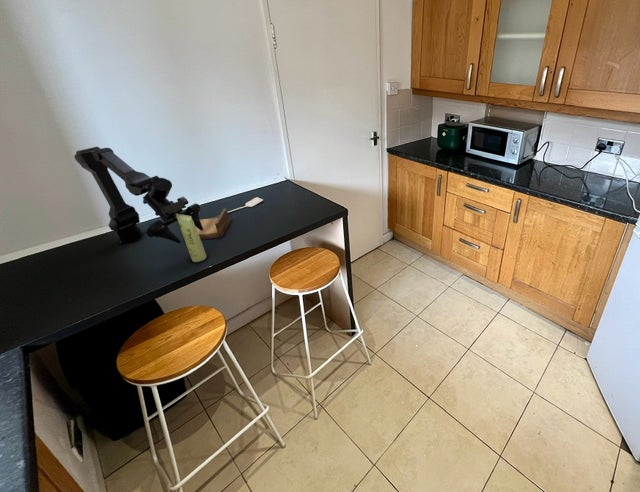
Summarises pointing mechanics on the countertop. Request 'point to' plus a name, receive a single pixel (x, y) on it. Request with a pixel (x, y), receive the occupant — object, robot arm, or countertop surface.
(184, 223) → the tube
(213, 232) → the wooden stand
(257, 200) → the spatula
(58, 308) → the countertop surface
